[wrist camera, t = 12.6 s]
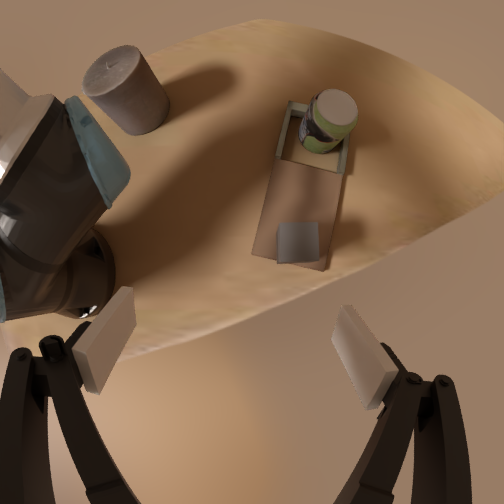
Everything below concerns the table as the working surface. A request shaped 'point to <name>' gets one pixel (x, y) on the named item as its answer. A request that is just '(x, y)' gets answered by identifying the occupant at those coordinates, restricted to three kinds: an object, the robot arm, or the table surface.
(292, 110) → the pull strip
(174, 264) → the table surface
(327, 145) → the beverage can
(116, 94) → the pillar candle
